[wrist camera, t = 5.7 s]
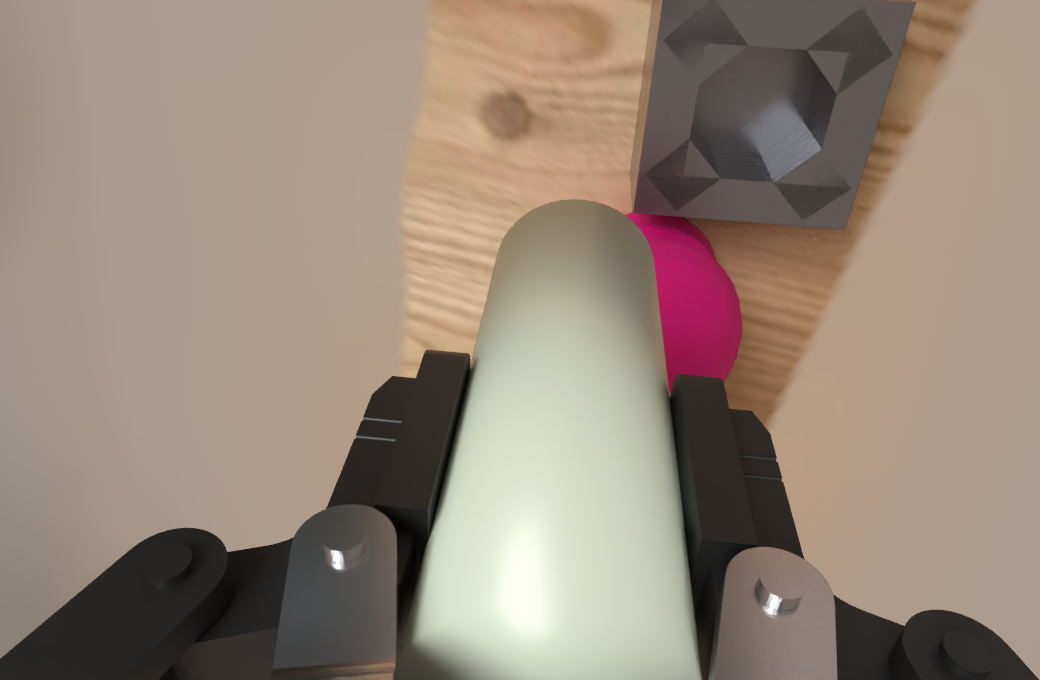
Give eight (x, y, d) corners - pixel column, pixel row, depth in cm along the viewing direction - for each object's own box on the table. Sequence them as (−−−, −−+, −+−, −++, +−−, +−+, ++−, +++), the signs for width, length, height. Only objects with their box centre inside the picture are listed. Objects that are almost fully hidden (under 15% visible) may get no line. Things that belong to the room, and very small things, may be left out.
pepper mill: (758, 240, 34) (907, 638, 17) (674, 357, 38) (730, 774, 21) (612, 172, 32) (622, 529, 16) (542, 301, 36) (492, 694, 20)
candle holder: (656, -33, 28) (664, -14, 25) (878, -19, 27) (915, 2, 24) (629, 173, 32) (632, 213, 29) (819, 188, 32) (844, 229, 29)
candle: (465, 248, 17) (329, 665, 8) (603, 169, 15) (604, 571, 7) (549, 360, 18) (504, 808, 10) (682, 297, 17) (758, 752, 9)
